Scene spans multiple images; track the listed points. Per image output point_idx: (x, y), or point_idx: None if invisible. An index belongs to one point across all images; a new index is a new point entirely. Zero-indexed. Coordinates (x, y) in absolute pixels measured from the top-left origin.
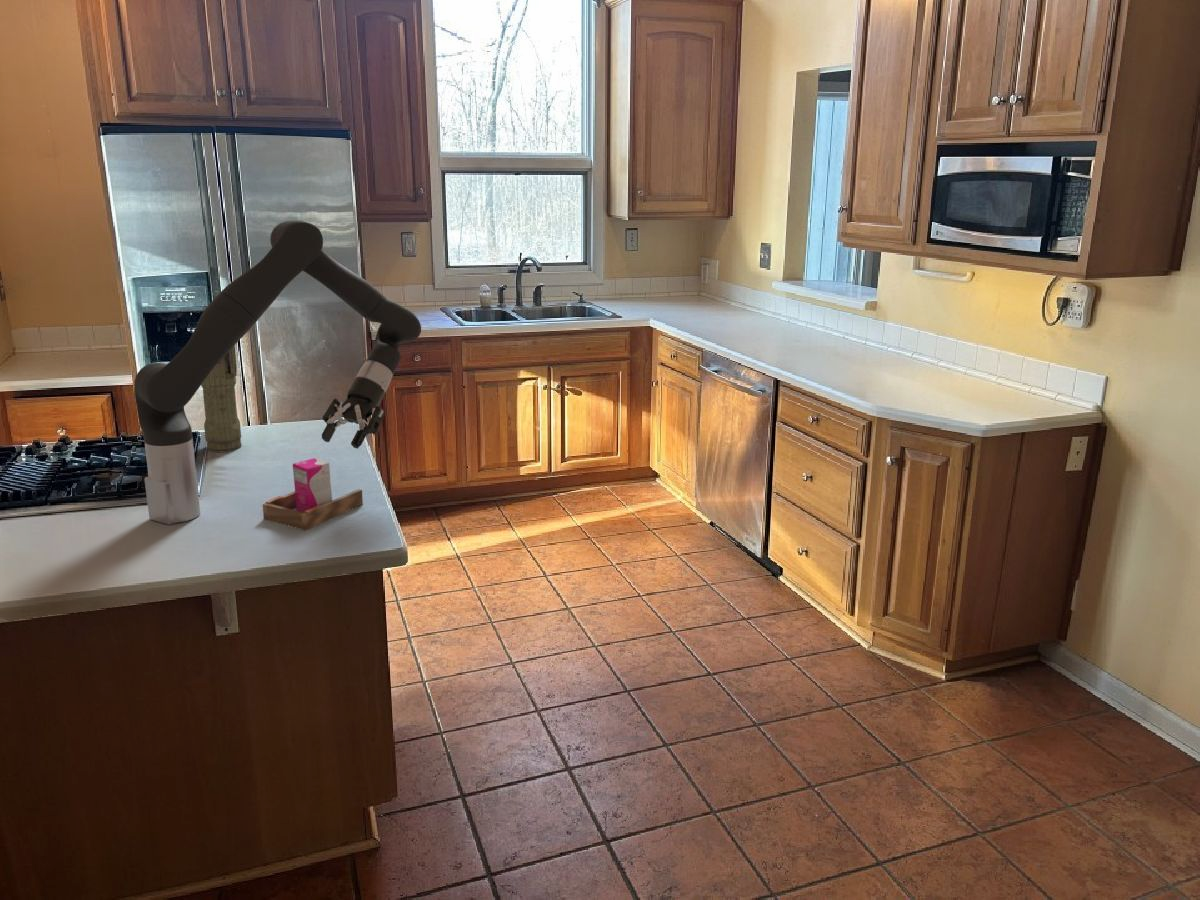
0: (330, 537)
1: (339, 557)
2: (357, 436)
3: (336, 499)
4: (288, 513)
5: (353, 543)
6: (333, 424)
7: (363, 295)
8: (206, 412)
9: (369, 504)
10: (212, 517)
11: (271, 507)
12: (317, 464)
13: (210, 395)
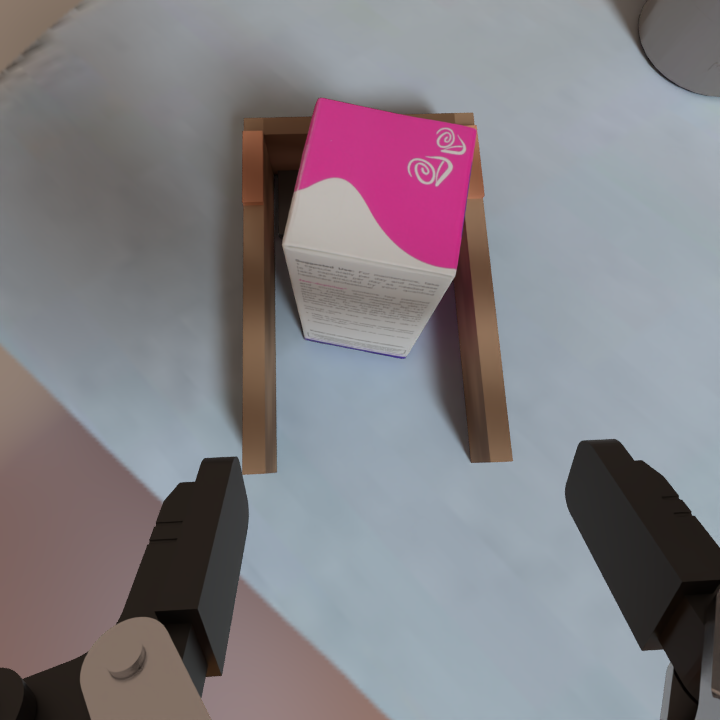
0: (139, 160)
1: (6, 67)
2: (179, 535)
3: (257, 307)
4: None
5: (33, 163)
6: (695, 648)
7: None
8: None
9: None
10: (609, 84)
11: (424, 117)
12: (323, 182)
13: None
